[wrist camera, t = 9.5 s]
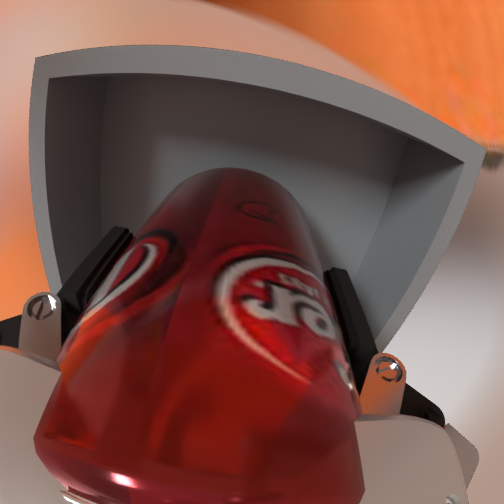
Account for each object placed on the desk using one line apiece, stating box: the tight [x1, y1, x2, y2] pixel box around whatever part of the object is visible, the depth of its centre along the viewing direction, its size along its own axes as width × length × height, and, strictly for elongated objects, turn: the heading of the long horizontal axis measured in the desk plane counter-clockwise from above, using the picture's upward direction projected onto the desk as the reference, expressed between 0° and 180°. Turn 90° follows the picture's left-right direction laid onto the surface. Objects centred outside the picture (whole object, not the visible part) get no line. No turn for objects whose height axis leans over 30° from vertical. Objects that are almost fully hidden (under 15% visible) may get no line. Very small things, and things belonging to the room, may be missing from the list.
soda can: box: [33, 167, 365, 504], centre depth 8 cm, size 7×7×12 cm
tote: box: [29, 45, 486, 353], centre depth 14 cm, size 18×16×6 cm
